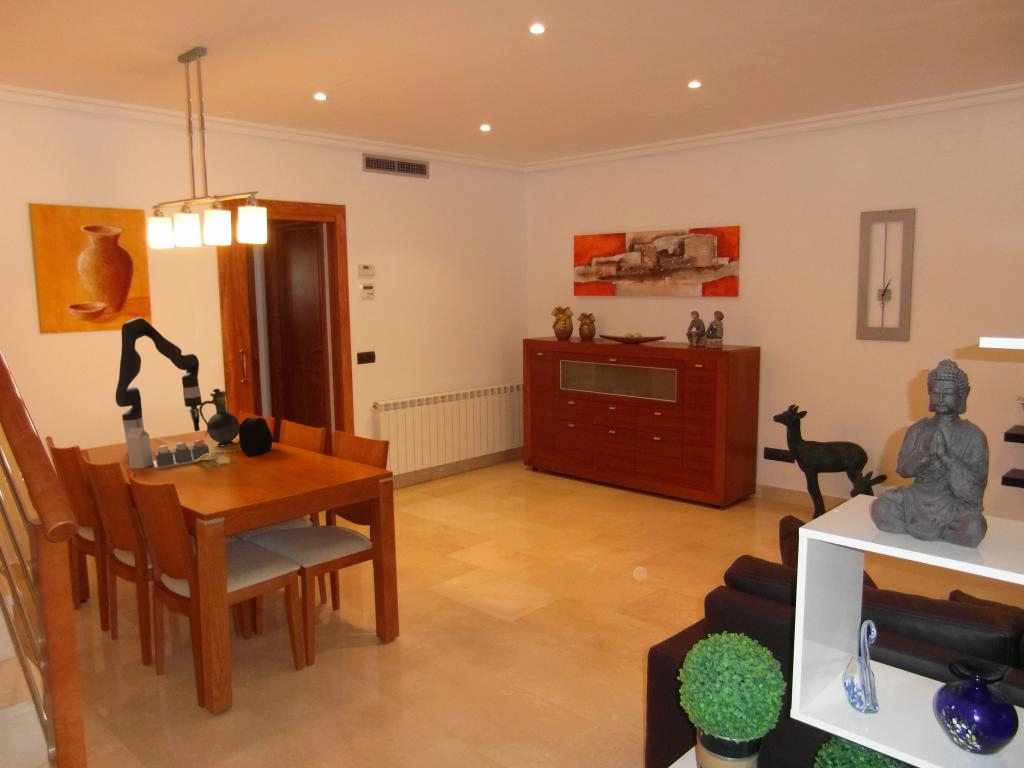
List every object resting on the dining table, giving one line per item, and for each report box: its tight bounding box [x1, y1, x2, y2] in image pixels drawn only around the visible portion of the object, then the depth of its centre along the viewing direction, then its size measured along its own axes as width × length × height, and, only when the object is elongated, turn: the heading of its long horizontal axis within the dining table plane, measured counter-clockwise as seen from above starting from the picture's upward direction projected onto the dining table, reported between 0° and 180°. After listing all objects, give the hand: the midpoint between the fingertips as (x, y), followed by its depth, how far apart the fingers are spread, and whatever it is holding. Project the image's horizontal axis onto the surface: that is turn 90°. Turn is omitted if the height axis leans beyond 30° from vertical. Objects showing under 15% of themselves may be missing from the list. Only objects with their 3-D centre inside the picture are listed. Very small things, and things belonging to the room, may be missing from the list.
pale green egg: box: [175, 442, 188, 451], centre depth 369 cm, size 4×4×5 cm
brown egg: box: [193, 439, 205, 448], centre depth 373 cm, size 4×4×5 cm
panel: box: [152, 443, 210, 470], centre depth 370 cm, size 14×26×6 cm, turn 119°
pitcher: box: [198, 388, 241, 447], centre depth 395 cm, size 11×19×30 cm, turn 136°
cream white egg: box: [157, 444, 170, 454], centre depth 365 cm, size 4×4×5 cm
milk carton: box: [125, 428, 154, 469], centre depth 363 cm, size 7×7×19 cm
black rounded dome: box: [237, 416, 275, 456], centre depth 377 cm, size 18×18×17 cm
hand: (197, 430), depth 371 cm, fingers closed
